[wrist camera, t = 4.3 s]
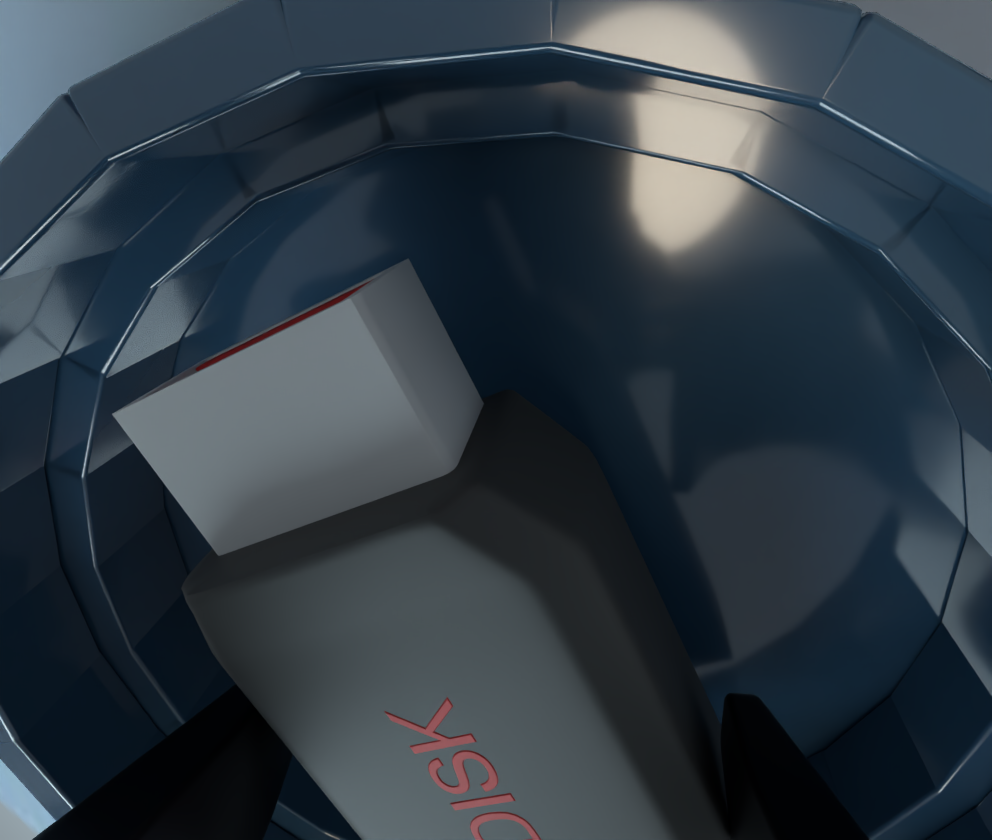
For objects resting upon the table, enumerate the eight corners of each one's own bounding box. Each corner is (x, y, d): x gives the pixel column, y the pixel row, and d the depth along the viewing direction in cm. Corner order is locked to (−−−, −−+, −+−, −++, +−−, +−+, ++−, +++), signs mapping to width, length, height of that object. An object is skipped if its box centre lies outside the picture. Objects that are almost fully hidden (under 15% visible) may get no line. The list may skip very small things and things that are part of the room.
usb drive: (519, 886, 13) (498, 1069, 10) (161, 379, 9) (-9, 479, 6) (782, 857, 11) (832, 1066, 9) (485, 218, 7) (423, 269, 5)
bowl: (923, 874, 14) (1035, 1139, 11) (230, 796, 17) (127, 982, 14) (1253, -50, 7) (1977, -239, 3) (-42, 87, 10) (-426, 67, 6)
